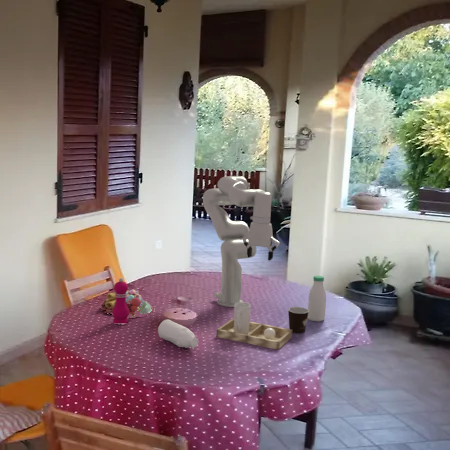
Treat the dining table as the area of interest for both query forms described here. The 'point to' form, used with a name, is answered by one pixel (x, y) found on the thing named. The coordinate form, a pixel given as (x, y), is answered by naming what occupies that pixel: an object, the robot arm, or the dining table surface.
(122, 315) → the pepper mill
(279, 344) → the caddy
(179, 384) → the dining table surface
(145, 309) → the candy landscape model
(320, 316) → the milk bottle
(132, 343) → the dining table surface
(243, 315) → the mug
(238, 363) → the dining table surface
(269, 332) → the stone egg
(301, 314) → the coffee mug
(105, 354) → the dining table surface
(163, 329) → the white plastic bottle
